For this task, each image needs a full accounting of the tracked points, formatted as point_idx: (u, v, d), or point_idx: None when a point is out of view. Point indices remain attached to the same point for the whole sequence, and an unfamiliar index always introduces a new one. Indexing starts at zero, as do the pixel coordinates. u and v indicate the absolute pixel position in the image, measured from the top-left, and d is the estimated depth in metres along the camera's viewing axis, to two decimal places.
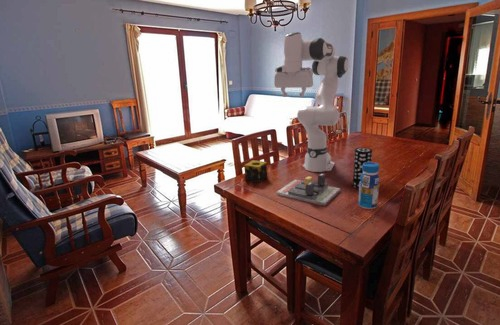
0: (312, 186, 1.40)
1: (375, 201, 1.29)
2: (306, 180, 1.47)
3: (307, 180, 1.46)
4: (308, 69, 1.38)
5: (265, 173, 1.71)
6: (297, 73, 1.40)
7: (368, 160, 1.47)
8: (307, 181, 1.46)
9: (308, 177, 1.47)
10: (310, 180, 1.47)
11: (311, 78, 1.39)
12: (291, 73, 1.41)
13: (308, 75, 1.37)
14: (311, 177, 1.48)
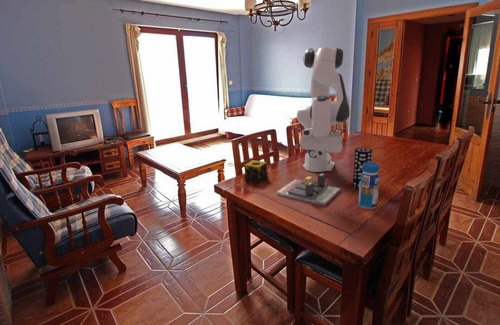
0: (312, 186, 1.40)
1: (375, 201, 1.29)
2: (306, 180, 1.47)
3: (307, 180, 1.46)
4: (338, 135, 1.32)
5: (265, 173, 1.71)
6: (326, 138, 1.34)
7: (368, 160, 1.47)
8: (307, 181, 1.46)
9: (308, 177, 1.47)
10: (310, 180, 1.47)
11: (341, 144, 1.32)
12: (319, 137, 1.35)
13: (338, 141, 1.31)
14: (311, 177, 1.48)
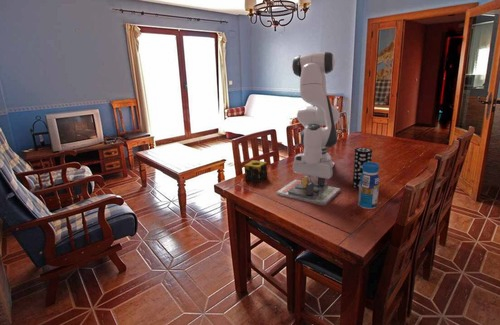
0: (312, 186, 1.40)
1: (375, 201, 1.29)
2: (303, 180, 1.47)
3: (304, 180, 1.47)
4: (328, 161, 1.38)
5: (265, 173, 1.71)
6: (317, 164, 1.41)
7: (368, 160, 1.47)
8: (304, 180, 1.47)
9: (305, 177, 1.48)
10: (307, 180, 1.48)
11: (331, 170, 1.39)
12: (311, 164, 1.41)
13: (328, 168, 1.38)
14: None
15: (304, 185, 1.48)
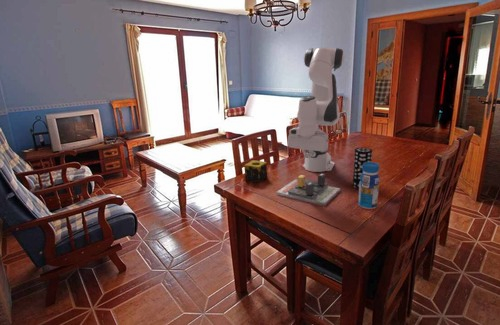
0: (312, 186, 1.40)
1: (375, 201, 1.29)
2: (299, 179, 1.49)
3: (300, 179, 1.49)
4: (323, 134, 1.36)
5: (265, 173, 1.71)
6: (312, 137, 1.38)
7: (368, 160, 1.47)
8: (300, 180, 1.49)
9: (301, 176, 1.50)
10: (303, 179, 1.49)
11: (326, 142, 1.37)
12: (306, 136, 1.39)
13: (323, 140, 1.35)
14: (304, 176, 1.50)
15: (299, 184, 1.50)
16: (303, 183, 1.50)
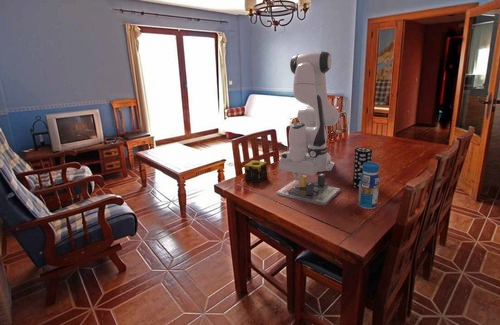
0: (312, 186, 1.40)
1: (375, 201, 1.29)
2: (301, 179, 1.48)
3: (302, 179, 1.48)
4: (312, 159, 1.43)
5: (265, 173, 1.71)
6: (301, 161, 1.45)
7: (368, 160, 1.47)
8: (302, 180, 1.48)
9: (303, 176, 1.49)
10: (305, 179, 1.48)
11: (315, 167, 1.43)
12: (295, 161, 1.46)
13: (312, 165, 1.42)
14: (306, 176, 1.49)
15: (301, 184, 1.49)
16: (305, 183, 1.50)
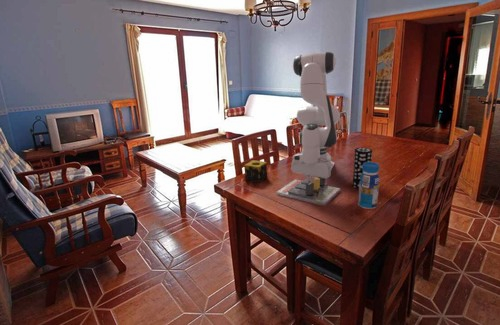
0: (312, 186, 1.40)
1: (375, 201, 1.29)
2: (314, 181, 1.44)
3: (315, 181, 1.44)
4: (326, 161, 1.39)
5: (265, 173, 1.71)
6: (315, 163, 1.41)
7: (368, 160, 1.47)
8: (315, 182, 1.44)
9: (316, 178, 1.45)
10: (318, 181, 1.44)
11: (329, 170, 1.39)
12: (309, 163, 1.41)
13: (326, 167, 1.38)
14: (319, 178, 1.45)
15: (314, 187, 1.45)
16: (318, 186, 1.46)
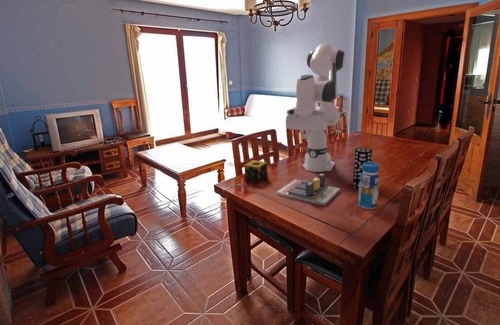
0: (312, 186, 1.40)
1: (375, 201, 1.29)
2: (313, 181, 1.44)
3: (315, 181, 1.44)
4: (321, 113, 1.33)
5: (265, 173, 1.71)
6: (310, 117, 1.36)
7: (368, 160, 1.47)
8: (315, 182, 1.44)
9: (315, 178, 1.45)
10: (318, 181, 1.44)
11: (324, 122, 1.34)
12: (303, 116, 1.36)
13: (321, 120, 1.33)
14: (318, 178, 1.45)
15: (314, 187, 1.45)
16: (318, 186, 1.46)
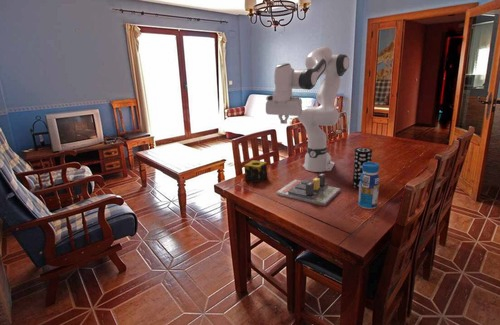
0: (312, 186, 1.40)
1: (375, 201, 1.29)
2: (313, 181, 1.44)
3: (315, 181, 1.44)
4: (297, 99, 1.44)
5: (265, 173, 1.71)
6: (287, 102, 1.46)
7: (368, 160, 1.47)
8: (315, 182, 1.44)
9: (315, 178, 1.45)
10: (318, 181, 1.44)
11: (300, 107, 1.45)
12: (281, 102, 1.47)
13: (297, 104, 1.44)
14: (318, 178, 1.45)
15: (314, 187, 1.45)
16: (318, 186, 1.46)
